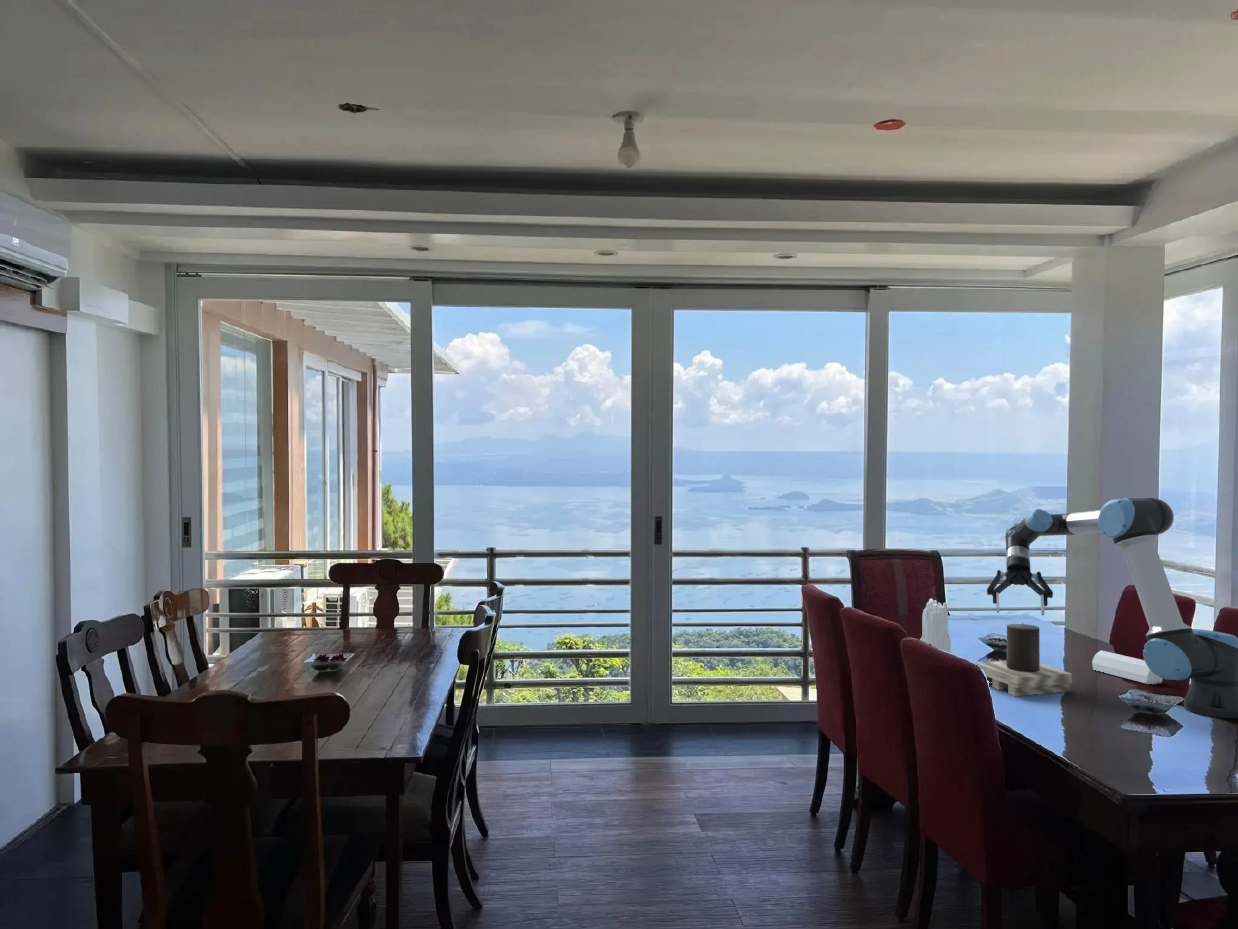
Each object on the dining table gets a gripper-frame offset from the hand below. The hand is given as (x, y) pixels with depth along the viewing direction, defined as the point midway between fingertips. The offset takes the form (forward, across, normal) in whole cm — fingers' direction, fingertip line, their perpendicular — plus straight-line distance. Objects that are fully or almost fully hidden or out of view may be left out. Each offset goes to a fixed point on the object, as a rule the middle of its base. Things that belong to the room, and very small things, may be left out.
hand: (1020, 612), depth 279 cm
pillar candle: (+18, 0, -6) cm, 19 cm away
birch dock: (+23, 0, -10) cm, 25 cm away
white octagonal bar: (+4, -33, -29) cm, 44 cm away
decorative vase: (+15, +27, -18) cm, 35 cm away
